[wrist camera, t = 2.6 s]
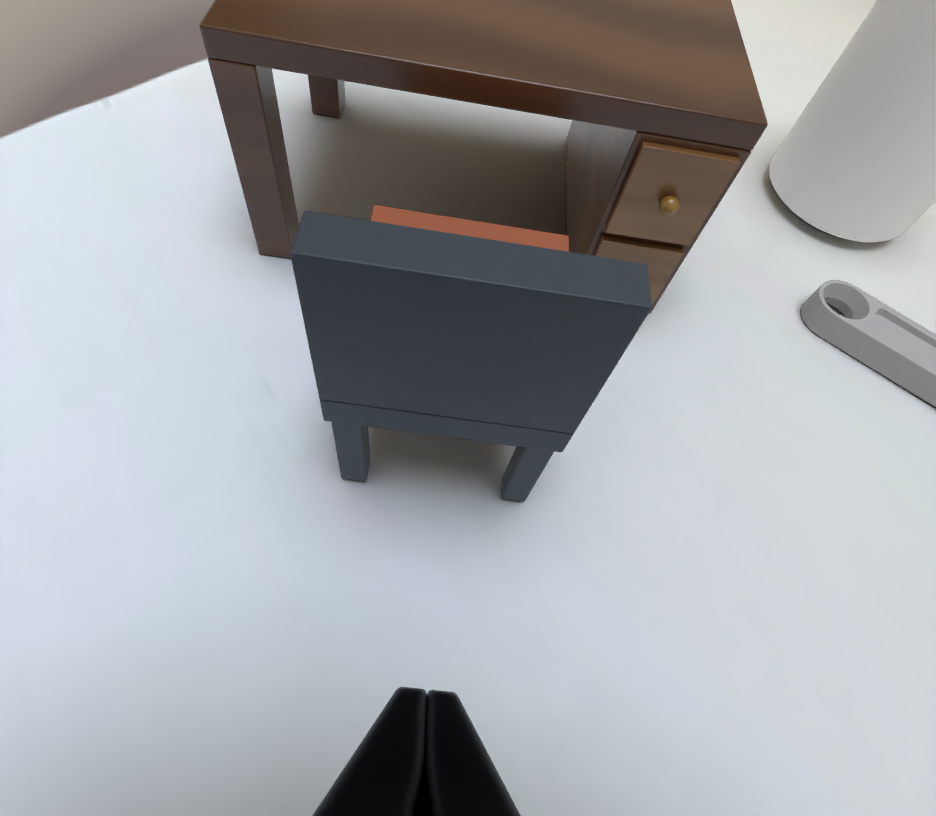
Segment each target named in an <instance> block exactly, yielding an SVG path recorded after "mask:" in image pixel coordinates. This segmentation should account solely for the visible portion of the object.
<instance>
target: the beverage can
mask: <svg viewBox="0 0 936 816" xmlns="http://www.w3.org/2000/svg"><path fill="white" fill-rule="evenodd" d="M769 172H770V179H771V182H772V185H773V187H774V189H775V191H776V192H777V194H778V196H779V197H780V198H781V199H782V201H783V202H784V203H785V204H786V205H787V206H788V207H789V208H790V209H791V210H792V211H793V212H794V213H795V214H797V215H798V216H799V217H800V218H801V219H803V220H804V221H806V222H807V223H809V224H810V225H812V226H814V227H816V228H818V229H820V230H822V231H824V232H827V233H829V234H832V235H834V236H837V237H840V238H844V239H848V240H852V241H858V242H882V241H887V240H890V239H893V238H895V237H897V236H899V235H901V234H902V233H903V232H904V231H906V230H907V229H908V228H909V227H910V226H911V225H912V224H913V223H914V222H915V221H916V220H917V219H918V218H919V217H920V216H921V215H922V214H923V213H924V212H925V211H926V210H927V209H928V208H929V207H930V206H931V205H932V204H933V203H934V202H936V0H877V2H876V3H875V5H874V6H873V8H872V9H871V11H870V12H869V14H868V15H867V17H866V18H865V20H864V21H863V23H862V24H861V26H860V27H859V29H858V30H857V32H856V33H855V35H854V36H853V38H852V39H851V41H850V42H849V44H848V45H847V47H846V48H845V50H844V51H843V53H842V54H841V56H840V57H839V59H838V60H837V62H836V63H835V65H834V66H833V68H832V69H831V71H830V72H829V74H828V75H827V77H826V78H825V80H824V81H823V83H822V84H821V86H820V87H819V88H818V90H817V91H816V93H815V94H814V96H813V97H812V99H811V100H810V102H809V103H808V105H807V106H806V108H805V109H804V111H803V112H802V114H801V115H800V117H799V118H798V120H797V121H796V123H795V124H794V126H793V127H792V129H791V130H790V132H789V133H788V135H787V136H786V138H785V139H784V141H783V142H782V144H781V145H780V147H779V148H778V150H777V151H776V153H775V154H774V156H773V158H772V160H771V163H770V168H769Z"/></svg>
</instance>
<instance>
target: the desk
mask: <svg viewBox="0 0 936 816" xmlns="http://www.w3.org/2000/svg"><path fill="white" fill-rule="evenodd" d="M200 29H201V33H202V37H203V41H204V45H205V48H206V52H207V55H208V57H209V58H208V61H209V65H210V69H211V73H212V76H213V80H214V84H215V88H216V91H217V95H218V99H219V103H220V106H221V110H222V114H223V118H224V122H225V125H226V129H227V133H228V137H229V140H230V144H231V148H232V152H233V155H234V159H235V163H236V167H237V170H238V174H239V178H240V182H241V185H242V189H243V193H244V197H245V200H246V204H247V208H248V212H249V215H250V219H251V223H252V227H253V231H254V234H255V238H256V242H257V246H258V249H259V253H260V254H264V255H271V256H277V257H284V258H291V255H290V252H291V249H292V246H293V243H294V240H295V237H296V234H297V231H298V228H299V223H298V218H297V212H296V206H295V200H294V195H293V189H292V183H291V177H290V172H289V166H288V160H287V154H286V149H285V143H284V137H283V131H282V126H281V120H280V114H279V108H278V103H277V97H276V91H275V85H274V80H273V74H272V68H273V69H279V70H284V71H290V72H296V73H302V74H308V80H309V88H310V96H311V104H312V112H313V113H314V114H320V115H326V116H332V117H337V118H340V116H341V113H342V110H343V107H344V104H345V88H344V81H349V82H354V83H360V84H366V85H372V86H378V87H383V88H389V89H395V90H401V91H407V92H413V93H418V94H424V95H430V96H436V97H442V98H448V99H453V100H459V101H465V102H471V103H477V104H482V105H488V106H494V107H500V108H506V109H512V110H517V111H523V112H529V113H535V114H541V115H547V116H552V117H558V118H564V119H570V120H572V123H571V126H570V130H569V133H568V136H567V235H568V236H569V252H574V253H580V254H587V255H593V256H600V257H606V258H612V259H619V260H625V261H632V262H638V263H644V264H647V266H648V276H649V286H650V296H651V306H652V308H651V310H650V311H649V313H651V311H652V310H653V308H654V307H655V305H656V303H657V302H658V300H659V299H660V297H661V295H662V294H663V292H664V291H665V289H666V287H667V286H668V284H669V283H670V281H671V280H672V278H673V276H674V275H675V273H676V272H677V270H678V268H679V267H680V265H681V264H682V262H683V260H684V259H685V257H686V256H687V254H688V252H689V251H690V249H691V248H692V246H693V244H694V243H695V241H696V240H697V238H698V236H699V235H700V233H701V232H702V230H703V228H704V227H705V225H706V224H707V222H708V220H709V219H710V217H711V216H712V214H713V212H714V211H715V209H716V208H717V206H718V204H719V203H720V201H721V200H722V198H723V196H724V195H725V193H726V192H727V190H728V188H729V187H730V185H731V184H732V182H733V180H734V179H735V177H736V176H737V174H738V172H739V171H740V169H741V168H742V166H743V164H744V163H745V161H746V160H747V158H748V156H749V155H750V153H751V150H752V149H753V148H754V146H755V145H756V143H757V141H758V140H759V138H760V137H761V135H762V133H763V132H764V130H765V129H766V127H767V124H768V123H767V120H766V116H765V113H764V110H763V106H762V103H761V100H760V96H759V93H758V90H757V86H756V83H755V80H754V76H753V73H752V70H751V66H750V63H749V60H748V56H747V53H746V50H745V46H744V43H743V40H742V36H741V33H740V30H739V26H738V23H737V20H736V16H735V13H734V10H733V6H732V3H731V0H215V1H214V3H213V4H212V6H211V7H210V9H209V11H208V12H207V14H206V16H205V17H204V19H203V20H202V22H201V23H200Z"/></svg>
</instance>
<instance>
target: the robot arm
mask: <svg viewBox="0 0 936 816" xmlns="http://www.w3.org/2000/svg"><path fill="white" fill-rule="evenodd" d="M313 816H520V814H519V812H518V810H517V808H516V806H515V804H514V802H513V801H512V799H511V797H510V795H509V793H508V791H507V789H506V787H505V785H504V783H503V781H502V780H501V778H500V776H499V774H498V772H497V770H496V768H495V766H494V764H493V762H492V760H491V758H490V757H489V755H488V753H487V751H486V749H485V747H484V745H483V743H482V741H481V739H480V737H479V736H478V734H477V732H476V730H475V728H474V726H473V724H472V722H471V720H470V718H469V716H468V714H467V713H466V711H465V709H464V707H463V705H462V703H461V701H460V699H459V697H458V696H457V695H456V694H455V693H454V692H447V691H437V690H431V691H429V692H428V693H426V691H425V690H424V689H418V688H409V687H400V688H398V689H397V690H396V691H395V693H394V694H393V696H392V697H391V699H390V700H389V702H388V703H387V705H386V706H385V708H384V709H383V711H382V712H381V714H380V715H379V717H378V718H377V720H376V721H375V723H374V724H373V726H372V727H371V729H370V730H369V732H368V733H367V735H366V736H365V738H364V739H363V741H362V742H361V744H360V745H359V747H358V748H357V750H356V751H355V753H354V754H353V756H352V757H351V759H350V760H349V762H348V763H347V765H346V766H345V768H344V769H343V771H342V772H341V774H340V775H339V777H338V778H337V780H336V781H335V783H334V784H333V786H332V787H331V789H330V790H329V792H328V793H327V795H326V796H325V798H324V799H323V801H322V802H321V804H320V805H319V807H318V808H317V810H316V811H315V813H314V814H313Z"/></svg>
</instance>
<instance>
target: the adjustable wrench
mask: <svg viewBox="0 0 936 816" xmlns="http://www.w3.org/2000/svg"><path fill="white" fill-rule="evenodd" d="M827 304H829V305H831V306H833V307H835V308H836V309H838V310H839V311H840V312H841V313H842V314H843V315H844V316H845V317H846V318H845V317H843V316H841V315H839V314H837V313H836V312H835V311H833V310H832V309H831V308H830V307H829V306H828V305H827ZM801 317H802V319H803V321H804V323H805V324H806V325H807V327H808V328H809V329H810V330H811V331H813V332H814V333H815V334H817V335H818V336H820V337H821V338H823V339H825V340H826V341H828V342H829V343H831V344H833V345H834V346H836V347H838V348H839V349H841V350H843V351H844V352H846V353H848V354H849V355H851V356H852V357H854V358H856V359H857V360H859V361H861V362H862V363H864V364H866V365H867V366H869V367H871V368H872V369H874V370H875V371H877V372H879V373H880V374H882V375H884V376H885V377H887V378H889V379H890V380H892V381H893V382H895V383H897V384H898V385H900V386H902V387H903V388H905V389H907V390H908V391H910V392H912V393H913V394H915V395H916V396H918V397H920V398H921V399H923V400H925V401H926V402H928V403H930V404H931V405H933V406H935V407H936V334H934V333H933V332H931V331H929V330H928V329H926V328H924V327H923V326H921V325H919V324H918V323H916V322H914V321H913V320H911V319H909V318H908V317H906V316H904V315H903V314H901V313H899V312H898V311H896V310H894V309H893V308H891V307H889V306H888V305H886V304H884V303H883V302H881V301H879V300H878V299H876V298H874V297H873V296H871V295H869V294H868V293H866V292H864V291H863V290H861V289H859V288H858V287H856V286H854V285H852V284H850V283H848V282H844V281H840V280H830V281H827V282H824V283H823V284H822V285H821V286H820V287H819V288H818V289H817V290H816V291H815V292H814V293H813V294H812V295H811V297H810V298H809V299H808V300H807V301H806V302H805V303H804V304H803V305H802V308H801Z"/></svg>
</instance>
